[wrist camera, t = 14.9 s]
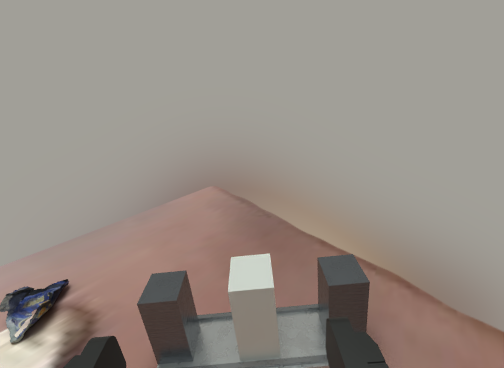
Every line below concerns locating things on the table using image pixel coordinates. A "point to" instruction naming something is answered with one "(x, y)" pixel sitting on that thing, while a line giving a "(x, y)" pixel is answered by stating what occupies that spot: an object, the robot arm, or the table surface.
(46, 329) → the table surface
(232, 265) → the block
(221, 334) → the rail
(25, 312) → the snack package
